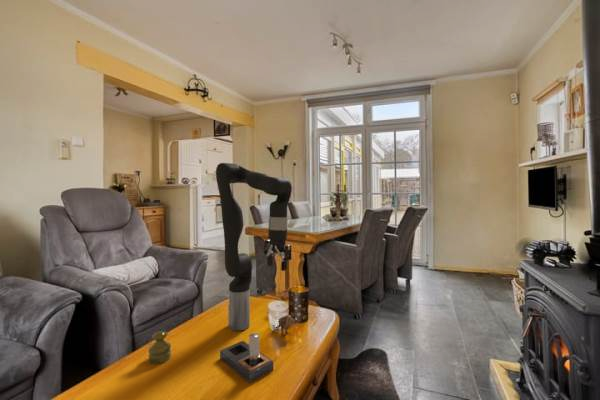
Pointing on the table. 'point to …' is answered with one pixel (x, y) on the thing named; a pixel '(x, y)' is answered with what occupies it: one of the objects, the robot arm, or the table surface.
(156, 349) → the bronze chess pawn
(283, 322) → the lion figurine
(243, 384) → the table surface
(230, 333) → the table surface
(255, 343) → the steel peg
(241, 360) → the block with square holes
